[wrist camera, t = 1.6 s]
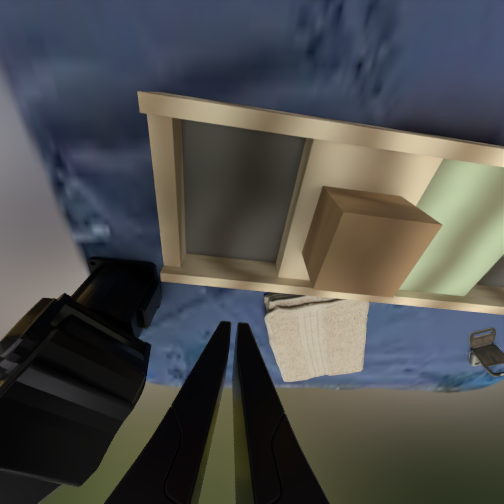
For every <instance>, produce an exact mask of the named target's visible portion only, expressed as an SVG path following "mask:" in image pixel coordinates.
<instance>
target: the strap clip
mask: <svg viewBox="0 0 504 504" xmlns="http://www.w3.org/2000/svg"><path fill="white" fill-rule="evenodd" d="M491 330H492V333H488V334H484V335H480V336H476V337H473V336H474V335H475V334H479V333H483V332H487V331H491ZM495 335H496V330H495V329H494V328H488V329H484V330H480V331H476V332H473V333H471V334H470V336H469V343H470V347H471V348H473V350H472V351H471V352H470V353H469V362H470V364H471V365H472V366H478V365H482V366H483V367H484V369H485V370H487V371H488V372H489V373H490V374H491V375H492V376H495V377H497V376H502V375H504V372H500V373H493V372H492V371H491V370H490V369H489V368H488V367H489V366H494V365H499V364H503V363H504V353H503V352H502V351H501V350H500V349H499V348H498V347H497V346H496V345H494V344H493V345H492V343H493V342H494V340H495Z"/></svg>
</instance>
